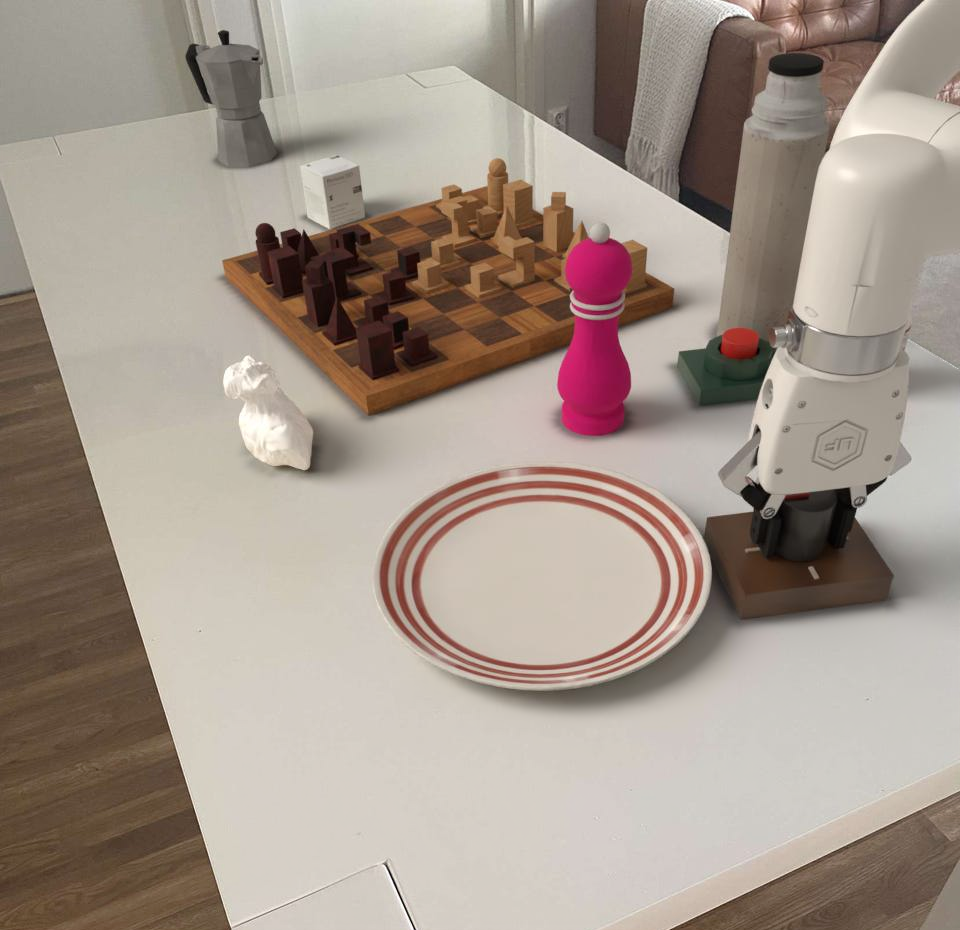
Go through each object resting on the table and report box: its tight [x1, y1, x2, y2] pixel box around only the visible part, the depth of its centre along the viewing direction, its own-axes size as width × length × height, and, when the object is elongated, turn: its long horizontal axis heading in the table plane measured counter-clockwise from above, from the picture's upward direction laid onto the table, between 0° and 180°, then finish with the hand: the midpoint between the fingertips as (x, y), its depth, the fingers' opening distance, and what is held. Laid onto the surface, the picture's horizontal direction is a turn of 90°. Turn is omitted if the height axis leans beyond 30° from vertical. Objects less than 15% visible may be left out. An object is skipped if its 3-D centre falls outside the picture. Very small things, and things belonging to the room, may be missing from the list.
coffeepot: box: [185, 29, 278, 168], centre depth 154 cm, size 15×9×18 cm, turn 57°
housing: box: [676, 335, 776, 407], centre depth 104 cm, size 10×8×4 cm
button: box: [721, 328, 759, 360], centre depth 102 cm, size 4×4×2 cm
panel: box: [703, 511, 895, 621], centre depth 83 cm, size 12×10×3 cm
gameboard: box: [221, 157, 675, 416], centre depth 120 cm, size 40×40×9 cm
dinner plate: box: [372, 461, 713, 692], centre depth 83 cm, size 28×27×3 cm
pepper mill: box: [556, 221, 632, 437], centre depth 95 cm, size 7×7×20 cm
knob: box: [775, 489, 838, 562], centre depth 80 cm, size 4×4×5 cm
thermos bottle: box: [716, 52, 830, 350], centre depth 102 cm, size 8×8×28 cm
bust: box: [222, 354, 314, 471], centre depth 97 cm, size 12×8×11 cm
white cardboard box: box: [299, 154, 366, 230], centre depth 139 cm, size 6×6×7 cm
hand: (797, 540), depth 82 cm, fingers open, 5 cm apart
